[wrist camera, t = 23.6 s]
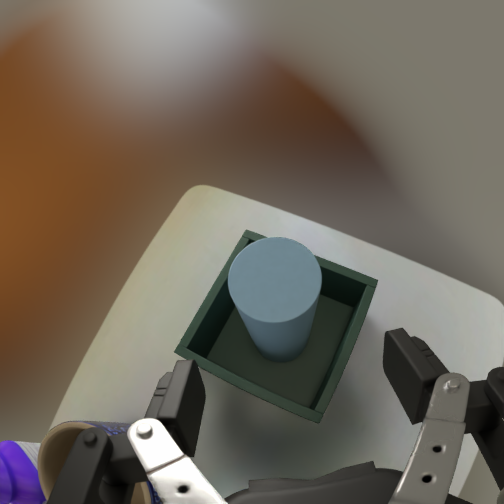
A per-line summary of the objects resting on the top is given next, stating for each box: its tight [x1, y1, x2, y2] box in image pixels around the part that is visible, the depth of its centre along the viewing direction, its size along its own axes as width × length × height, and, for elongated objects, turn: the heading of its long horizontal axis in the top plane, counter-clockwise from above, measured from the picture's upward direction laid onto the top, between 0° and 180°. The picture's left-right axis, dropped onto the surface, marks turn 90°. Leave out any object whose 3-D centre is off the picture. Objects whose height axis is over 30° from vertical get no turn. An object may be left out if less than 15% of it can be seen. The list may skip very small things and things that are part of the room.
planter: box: [37, 421, 164, 504], centre depth 19 cm, size 11×11×11 cm
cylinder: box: [228, 237, 322, 362], centre depth 23 cm, size 5×5×14 cm
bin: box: [174, 230, 378, 423], centre depth 27 cm, size 13×13×7 cm
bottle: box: [0, 440, 47, 504], centre depth 16 cm, size 7×6×17 cm
